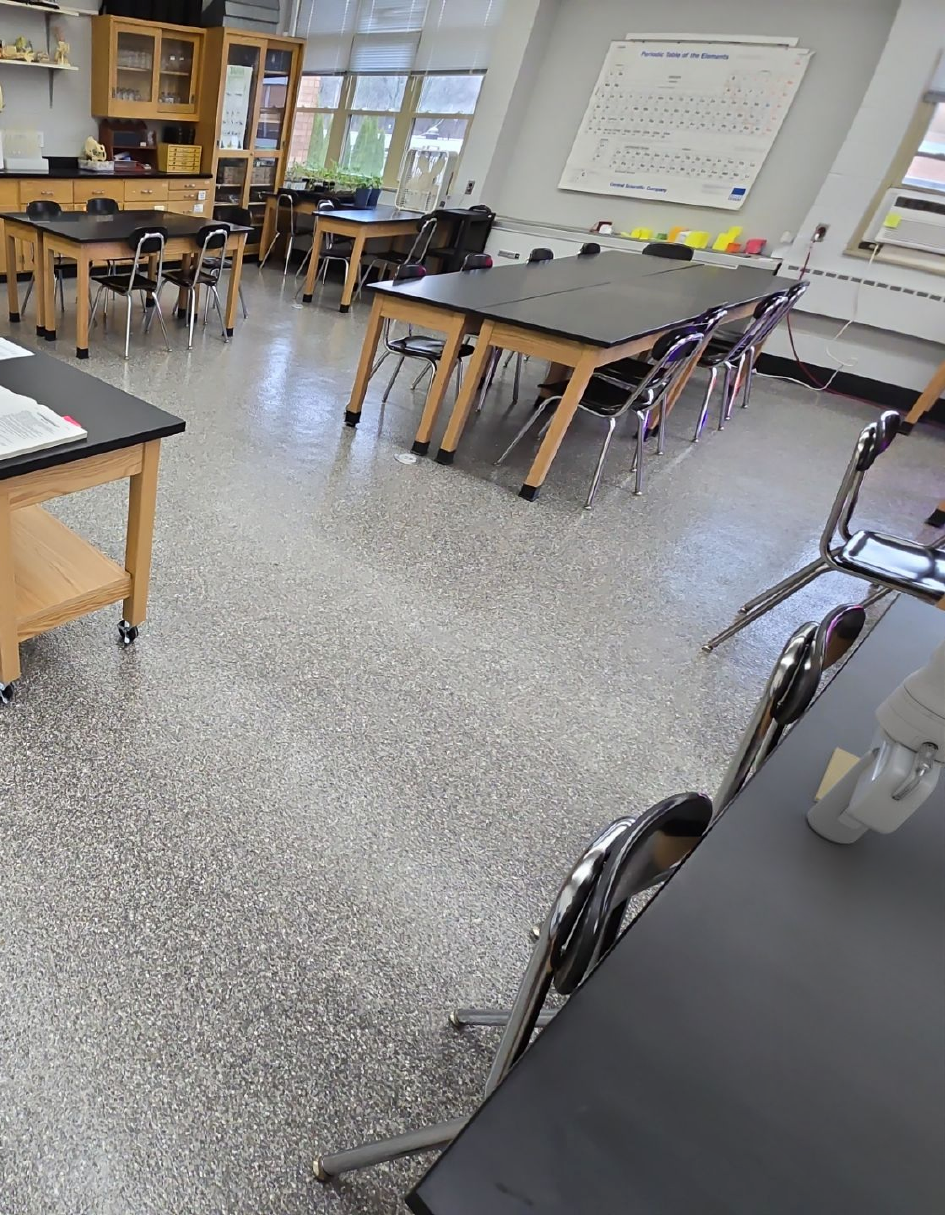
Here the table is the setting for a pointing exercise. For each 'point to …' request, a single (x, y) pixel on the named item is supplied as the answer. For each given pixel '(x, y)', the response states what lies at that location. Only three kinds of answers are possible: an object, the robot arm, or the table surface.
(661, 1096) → the table surface
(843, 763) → the napkin
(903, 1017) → the table surface
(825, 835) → the beverage can
